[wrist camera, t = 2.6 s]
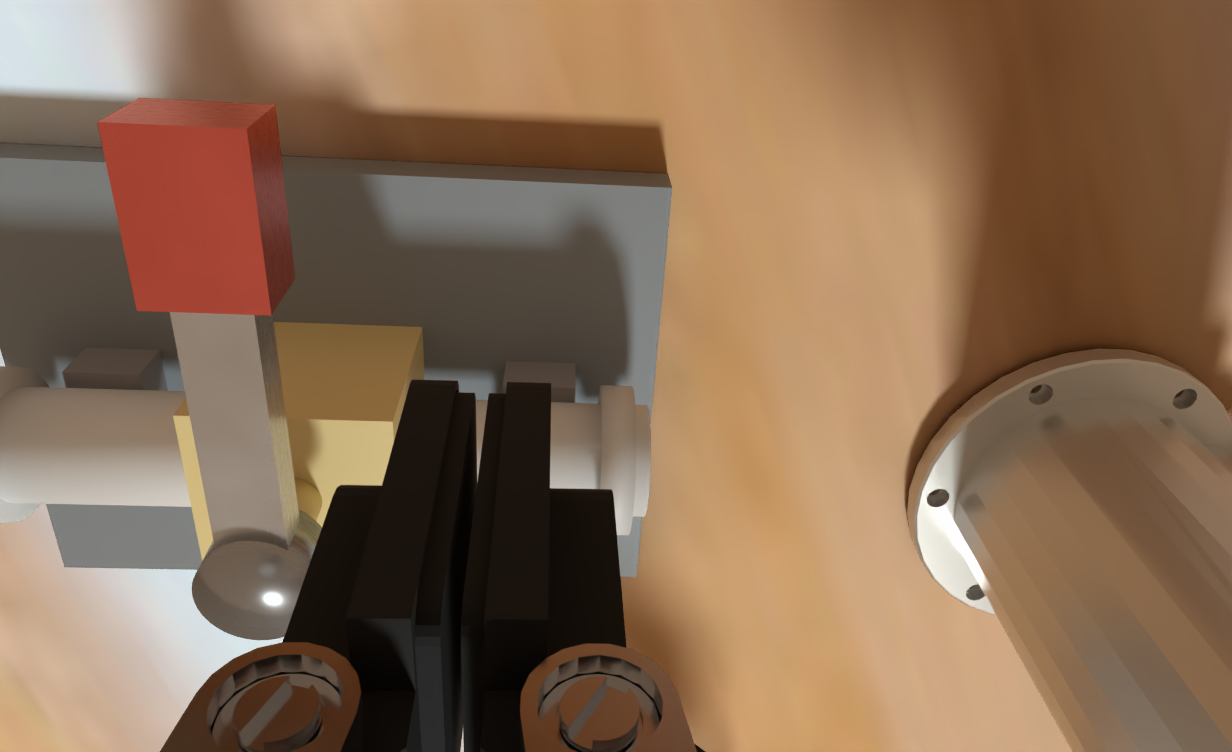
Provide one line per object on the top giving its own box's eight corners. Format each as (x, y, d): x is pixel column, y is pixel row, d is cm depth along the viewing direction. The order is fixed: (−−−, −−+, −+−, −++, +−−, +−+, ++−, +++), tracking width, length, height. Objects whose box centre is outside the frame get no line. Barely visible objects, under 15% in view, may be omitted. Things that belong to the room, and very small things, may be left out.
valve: (667, 173, 31) (702, 288, 23) (634, 552, 39) (650, 739, 30) (-29, 141, 29) (-258, 252, 21) (82, 541, 37) (-54, 734, 29)
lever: (335, 588, 26) (318, 640, 25) (226, 587, 26) (201, 639, 24) (279, 104, 20) (252, 129, 18) (134, 97, 20) (91, 121, 18)
